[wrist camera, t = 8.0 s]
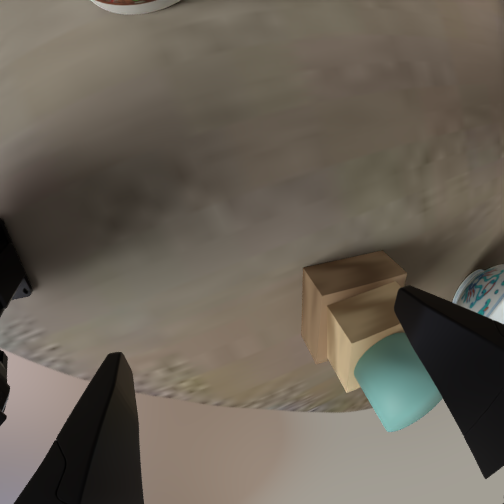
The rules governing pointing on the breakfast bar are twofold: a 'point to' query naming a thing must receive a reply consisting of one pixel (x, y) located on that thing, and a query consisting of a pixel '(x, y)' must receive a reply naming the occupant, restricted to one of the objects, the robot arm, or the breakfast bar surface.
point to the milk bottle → (133, 5)
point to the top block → (359, 329)
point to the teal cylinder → (396, 382)
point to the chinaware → (483, 293)
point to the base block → (340, 291)
